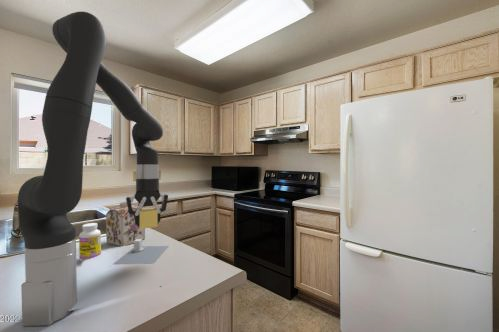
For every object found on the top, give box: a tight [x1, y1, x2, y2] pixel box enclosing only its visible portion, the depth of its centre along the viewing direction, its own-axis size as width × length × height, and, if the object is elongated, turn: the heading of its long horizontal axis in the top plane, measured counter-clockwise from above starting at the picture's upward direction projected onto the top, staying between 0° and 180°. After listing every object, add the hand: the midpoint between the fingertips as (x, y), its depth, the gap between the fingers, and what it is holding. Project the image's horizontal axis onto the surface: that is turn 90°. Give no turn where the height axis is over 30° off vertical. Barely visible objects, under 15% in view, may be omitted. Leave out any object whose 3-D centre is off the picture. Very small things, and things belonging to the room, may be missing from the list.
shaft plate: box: [113, 239, 170, 265], centre depth 86 cm, size 16×14×5 cm
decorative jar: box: [105, 200, 146, 247], centre depth 103 cm, size 12×12×18 cm
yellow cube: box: [139, 207, 159, 229], centre depth 80 cm, size 6×6×6 cm
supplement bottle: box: [78, 222, 102, 262], centre depth 85 cm, size 7×7×13 cm
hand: (147, 224), depth 80 cm, fingers closed on yellow cube, 5 cm apart
